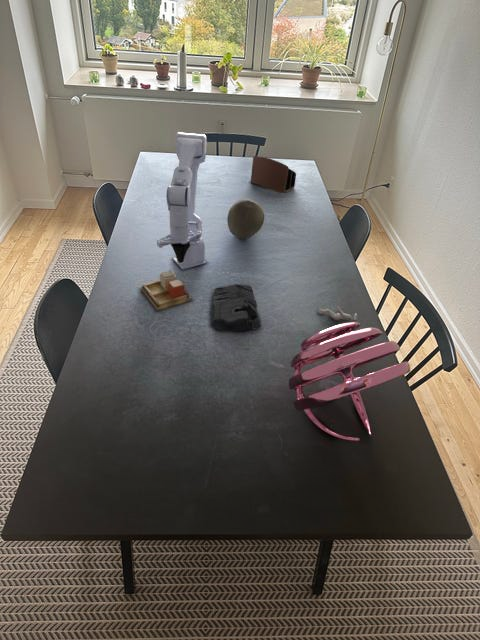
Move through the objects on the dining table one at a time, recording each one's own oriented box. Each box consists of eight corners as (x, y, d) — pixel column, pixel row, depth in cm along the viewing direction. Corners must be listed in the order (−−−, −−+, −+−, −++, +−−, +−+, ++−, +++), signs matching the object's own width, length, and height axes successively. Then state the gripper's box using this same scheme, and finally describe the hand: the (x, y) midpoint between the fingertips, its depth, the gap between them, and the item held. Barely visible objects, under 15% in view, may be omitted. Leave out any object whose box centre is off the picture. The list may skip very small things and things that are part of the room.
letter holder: (284, 194, 216) (288, 165, 207) (250, 182, 224) (252, 154, 215) (294, 187, 223) (298, 159, 214) (260, 176, 231) (263, 148, 222)
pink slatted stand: (455, 416, 91) (401, 293, 97) (327, 464, 89) (279, 335, 94) (403, 418, 119) (363, 322, 124) (304, 454, 116) (268, 355, 121)
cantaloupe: (242, 248, 175) (245, 213, 165) (219, 234, 182) (220, 199, 173) (268, 238, 182) (272, 203, 173) (245, 224, 190) (248, 190, 180)
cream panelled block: (171, 281, 153) (170, 269, 150) (176, 287, 151) (176, 275, 148) (160, 284, 152) (159, 272, 149) (165, 290, 149) (164, 278, 146)
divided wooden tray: (173, 280, 156) (173, 275, 154) (190, 300, 147) (190, 295, 146) (141, 289, 150) (140, 284, 149) (157, 310, 142) (156, 305, 141)
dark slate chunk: (257, 290, 154) (259, 278, 151) (261, 333, 137) (262, 320, 134) (212, 288, 153) (213, 276, 150) (210, 331, 136) (210, 318, 133)
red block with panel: (179, 290, 150) (178, 278, 147) (184, 296, 147) (184, 284, 144) (168, 293, 148) (167, 281, 145) (173, 300, 145) (173, 288, 142)
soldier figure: (321, 309, 150) (359, 308, 145) (321, 324, 149) (358, 323, 144) (316, 305, 143) (355, 303, 138) (316, 320, 142) (355, 319, 137)
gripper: (162, 234, 133) (164, 272, 142) (206, 224, 140) (205, 261, 149) (153, 223, 138) (155, 261, 147) (195, 214, 144) (195, 251, 153)
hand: (180, 261), depth 148 cm, fingers closed
